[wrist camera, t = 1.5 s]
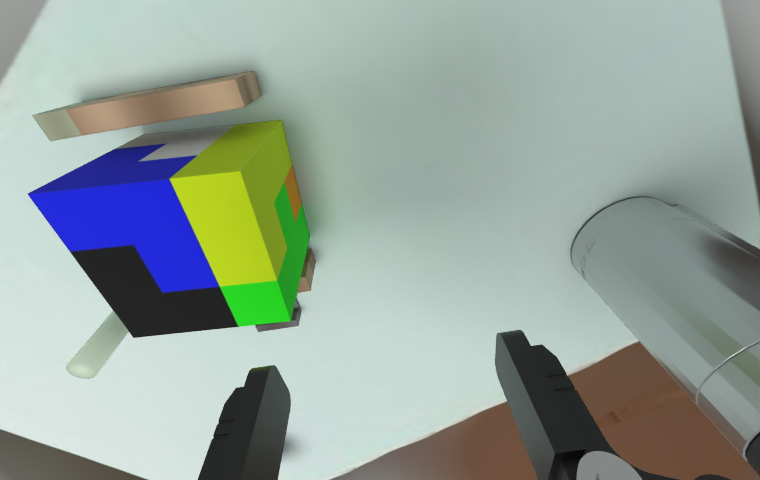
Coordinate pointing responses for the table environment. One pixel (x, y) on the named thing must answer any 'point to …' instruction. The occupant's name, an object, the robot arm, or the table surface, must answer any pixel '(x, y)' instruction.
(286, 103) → the table surface
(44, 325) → the table surface
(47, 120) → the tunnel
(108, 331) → the goal post
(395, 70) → the table surface
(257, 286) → the puzzle toy
